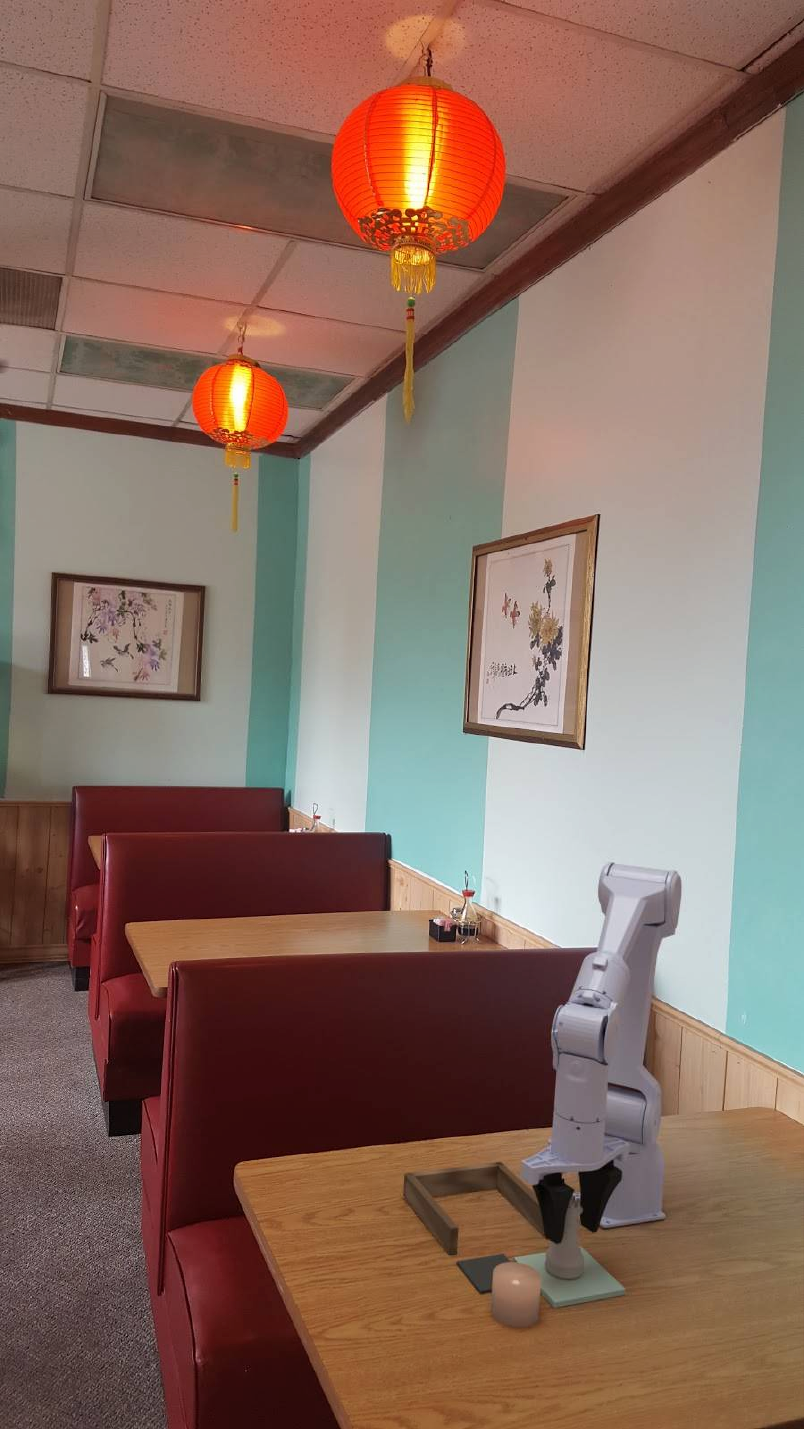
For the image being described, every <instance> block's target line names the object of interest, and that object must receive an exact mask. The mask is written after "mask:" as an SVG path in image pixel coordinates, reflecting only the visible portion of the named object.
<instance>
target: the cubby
mask: <svg viewBox="0 0 804 1429" xmlns="http://www.w3.org/2000/svg"><path fill="white" fill-rule="evenodd" d="M403 1175H404V1176H403V1189H402V1197H403V1196H404V1198H405V1199H406V1200H405V1199H404V1198H403V1199H404V1200H405V1201H407V1202H408V1203H409V1204H410V1205H409V1204H408V1203H407V1202H406V1203H407V1204H408V1205H409V1207H410V1206H411V1207H412V1208H413V1209H412V1208H411V1207H410V1208H411V1209H412V1211H413V1212H414V1211H415V1212H416V1213H417V1214H418V1215H417V1214H416V1213H415V1212H414V1213H415V1214H416V1215H417V1216H419V1217H418V1218H419V1220H421V1222H422V1221H423V1222H422V1223H423V1224H424V1225H425V1227H426V1228H427V1229H428V1230H429V1232H430V1233H431V1234H432V1235H433V1237H434V1238H435V1239H436V1240H437V1241H438V1243H439V1245H441V1247H442V1248H443V1249H444V1250H445V1252H446V1253H447V1254H448V1255H456V1254H457V1253H458V1243H459V1242H458V1241H459V1226H458V1225H457V1224H456V1223H455V1222H454V1220H453V1219H452V1218H451V1216H449V1214H447V1212H446V1211H445V1210H444V1209H443V1207H442V1206H441V1205H440V1204H439V1203H438V1202H437V1201H436V1199H435V1196H437V1197H444V1196H450V1195H458V1194H465V1193H472V1192H481V1191H489V1190H497V1191H498V1192H499V1193H500V1194H501V1195H502V1196H503V1197H504V1198H505V1199H506V1200H507V1201H508V1202H509V1203H510V1204H511V1205H514V1206H513V1207H514V1208H515V1209H516V1211H518V1212H519V1213H520V1214H521V1215H522V1216H523V1217H524V1218H525V1219H526V1220H527V1221H528V1222H529V1223H530V1224H531V1225H532V1226H533V1227H534V1228H535V1229H536V1230H537V1231H538V1232H539V1233H540V1234H541V1235H542V1236H543V1237H544V1238H545V1239H546V1240H549V1239H548V1238H547V1237H545V1233H544V1227H543V1221H542V1216H541V1211H540V1207H539V1203H538V1200H537V1197H536V1194H535V1192H534V1190H533V1189H531V1188H530V1187H529V1186H528V1185H527V1184H526V1183H524V1182H523V1181H522V1180H521V1178H519V1177H518V1176H517V1175H516V1174H515V1173H514V1172H513V1171H511V1169H510V1168H508V1167H507V1166H506V1165H505V1164H504V1163H503V1162H502V1161H496V1162H488V1163H481V1164H472V1165H463V1166H456V1167H448V1168H440V1169H432V1170H431V1169H430V1170H423V1171H415V1172H408V1173H407V1172H406V1173H404V1174H403ZM433 1196H434V1197H433Z"/></svg>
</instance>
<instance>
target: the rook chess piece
mask: <svg viewBox="0 0 804 1429" xmlns="http://www.w3.org/2000/svg"><path fill="white" fill-rule="evenodd" d="M575 1197H576V1196H574V1195H572V1197H571V1199H570V1202H569V1205H568V1208H567V1213H566V1218H565V1227H564V1235H563V1239H562V1242H561V1243H559V1244H555V1243H554V1242H552V1241H551V1243H550V1245H549V1246H550V1247H548V1248H547V1250H546V1251H545V1252H546V1258H547V1259H546V1260H545V1266H546V1268H547V1270H548V1271H549V1273H550V1274H552V1275H553V1276H555V1277H557V1278H560V1279H565V1280H573V1279H576V1278H578V1277H579V1276H580V1275H581V1274H582V1273H583V1272H584V1266H583V1264H584V1257H583V1255H582V1253H581V1249H580V1247H581V1246H580V1245H579V1233H578V1230H579V1229H578V1228H579V1226H580V1225H581V1222H580V1219H579V1217H580V1214H581V1213H582V1212H583V1208H582V1207H581V1205H580V1199H579V1198H576V1200H575Z"/></svg>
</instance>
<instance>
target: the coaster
mask: <svg viewBox="0 0 804 1429" xmlns="http://www.w3.org/2000/svg"><path fill="white" fill-rule="evenodd" d="M579 1247H580V1249H581V1253H582V1255H583V1257H584V1264H583V1266H584V1272H583V1273H582V1274H581V1275H580V1276H579V1277H578V1278H576V1279H573V1280H565V1279H560V1278H557V1277H555V1276H553V1275H552V1274H550V1273H549V1271H548V1270H547V1268H546V1266H545V1260H546V1259H547V1258H546V1252H547V1251H545V1252H540V1253H539V1252H538V1253H532V1254H527V1255H521V1256H514V1257H513V1261H512V1262H517V1263H522V1264H526V1265H528V1266H531V1267H532V1268H534V1269H535V1270H537V1271H538V1272H539V1274H540V1276H541V1288H540V1295H542V1297H544V1298H545V1300H546V1301H547V1302H548V1303H549V1305H550V1306H552V1308H554V1309H556V1308H563V1307H567V1306H572V1305H578V1304H583V1303H588V1302H593V1301H599V1300H605V1299H610V1298H617V1297H619V1296H626V1288H625V1287H624V1286H623V1285H622V1284H621V1283H620V1282H619V1281H618V1280H617V1279H615V1278H614V1277H613V1276H612V1275H611V1273H609V1272H608V1271H607V1270H606V1269H605V1268H604V1267H603V1266H602V1265H601V1264H600V1263H599V1262H598V1260H596V1259H595V1258H593V1257H592V1255H590V1254H589V1253H588V1251H586V1250H585V1249H584V1248H583V1247H582V1246H579Z"/></svg>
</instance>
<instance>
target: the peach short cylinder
mask: <svg viewBox="0 0 804 1429" xmlns="http://www.w3.org/2000/svg"><path fill="white" fill-rule="evenodd" d="M540 1288H541V1276H540V1274H539V1272H538V1271H537V1270H535V1269H534V1268H532V1267H531V1266H528V1265H526V1264H522V1263H517V1262H513V1261H510V1262H506V1263H502V1264H499V1265H498V1266H496V1267H495V1269H494V1271H493V1283H492V1292H491V1300H490V1302H491V1303H490V1314H491V1316H492V1317H493V1318H494V1319H495V1320H496V1321H497V1322H498V1323H500V1322H501V1323H500V1324H502V1323H503V1324H502V1325H505V1326H507V1327H511V1328H517V1329H518V1328H529V1327H530V1326H534V1325H535V1324H537V1322H538V1321H539V1316H540V1314H539V1313H540V1301H541V1293H540Z"/></svg>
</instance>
